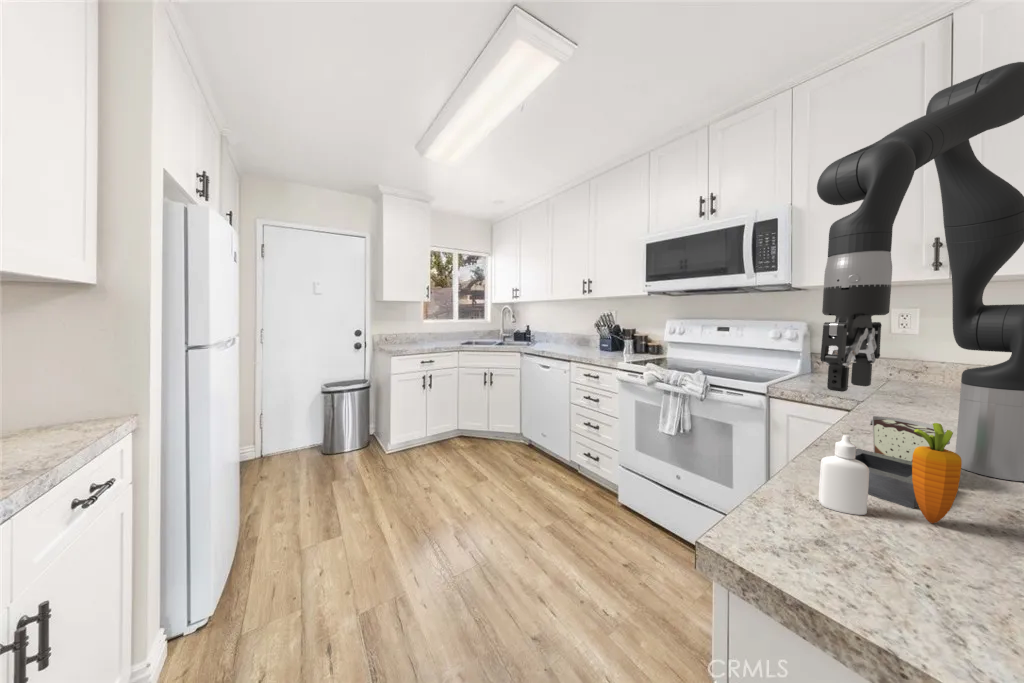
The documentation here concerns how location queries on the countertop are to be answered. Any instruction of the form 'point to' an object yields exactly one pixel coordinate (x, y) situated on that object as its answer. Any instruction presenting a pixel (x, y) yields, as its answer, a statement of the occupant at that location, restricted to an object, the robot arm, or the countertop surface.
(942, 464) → the carrot
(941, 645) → the countertop surface
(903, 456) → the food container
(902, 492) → the grey square frame
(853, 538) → the countertop surface
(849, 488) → the eye dropper bottle
